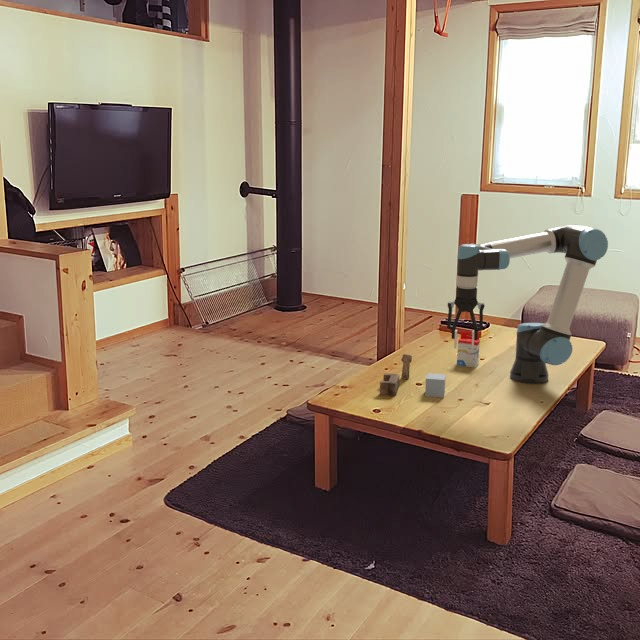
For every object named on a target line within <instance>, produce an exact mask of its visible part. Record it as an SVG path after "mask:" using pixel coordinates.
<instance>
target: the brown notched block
mask: <svg viewBox="0 0 640 640" xmlns="http://www.w3.org/2000/svg"><path fill="white" fill-rule="evenodd" d="M382 379H383V380H380V382H379V395H380V396H387V397H388V396H390V397H396V396H397V393H398V391H399V388H400V374H399V373H387V372H386V373H383V378H382Z"/></svg>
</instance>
